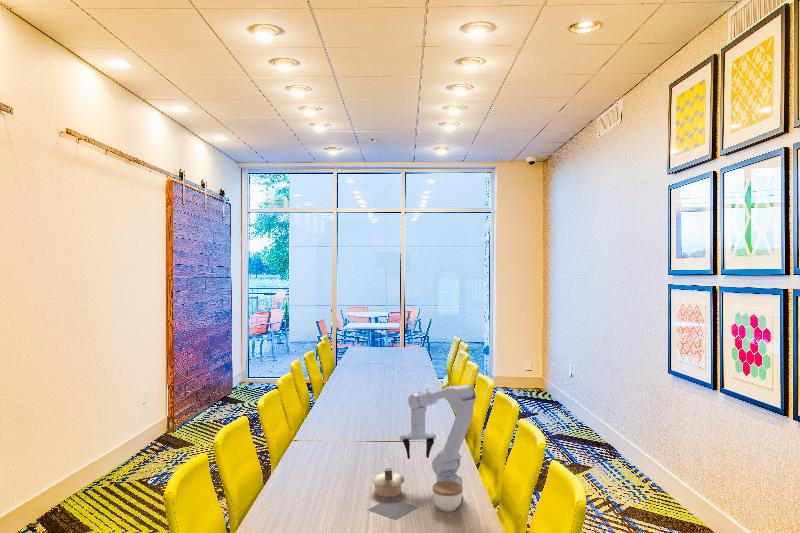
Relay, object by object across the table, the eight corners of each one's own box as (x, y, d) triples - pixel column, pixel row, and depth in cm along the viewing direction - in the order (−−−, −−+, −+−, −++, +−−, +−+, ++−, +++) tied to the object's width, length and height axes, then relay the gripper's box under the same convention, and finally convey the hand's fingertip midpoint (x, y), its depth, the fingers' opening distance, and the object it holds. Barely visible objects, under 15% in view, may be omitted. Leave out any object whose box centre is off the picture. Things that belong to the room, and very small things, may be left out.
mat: (418, 507, 200) (418, 507, 200) (395, 520, 190) (395, 519, 190) (390, 498, 208) (390, 497, 208) (367, 510, 198) (367, 509, 198)
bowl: (406, 491, 216) (406, 479, 216) (390, 499, 208) (390, 487, 208) (386, 484, 222) (386, 473, 222) (369, 492, 214) (370, 481, 214)
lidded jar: (460, 501, 206) (460, 476, 205) (464, 514, 195) (464, 488, 195) (431, 501, 205) (431, 476, 205) (434, 515, 195) (434, 488, 194)
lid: (401, 474, 221) (401, 463, 221) (406, 486, 209) (406, 474, 209) (371, 475, 219) (371, 464, 219) (374, 487, 207) (374, 476, 208)
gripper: (434, 420, 228) (433, 453, 228) (398, 421, 226) (398, 454, 226) (437, 425, 221) (437, 459, 221) (401, 426, 219) (401, 460, 219)
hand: (417, 457), depth 223 cm, fingers open, 7 cm apart
